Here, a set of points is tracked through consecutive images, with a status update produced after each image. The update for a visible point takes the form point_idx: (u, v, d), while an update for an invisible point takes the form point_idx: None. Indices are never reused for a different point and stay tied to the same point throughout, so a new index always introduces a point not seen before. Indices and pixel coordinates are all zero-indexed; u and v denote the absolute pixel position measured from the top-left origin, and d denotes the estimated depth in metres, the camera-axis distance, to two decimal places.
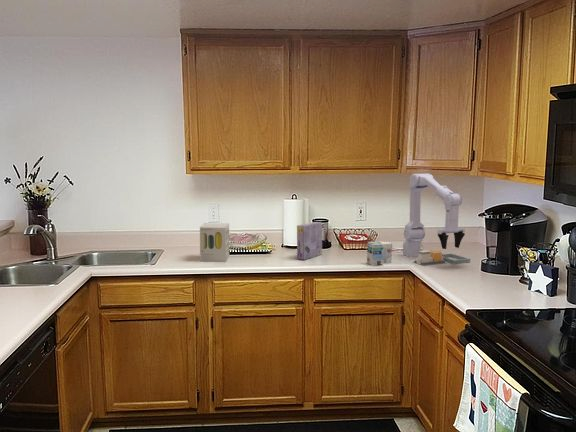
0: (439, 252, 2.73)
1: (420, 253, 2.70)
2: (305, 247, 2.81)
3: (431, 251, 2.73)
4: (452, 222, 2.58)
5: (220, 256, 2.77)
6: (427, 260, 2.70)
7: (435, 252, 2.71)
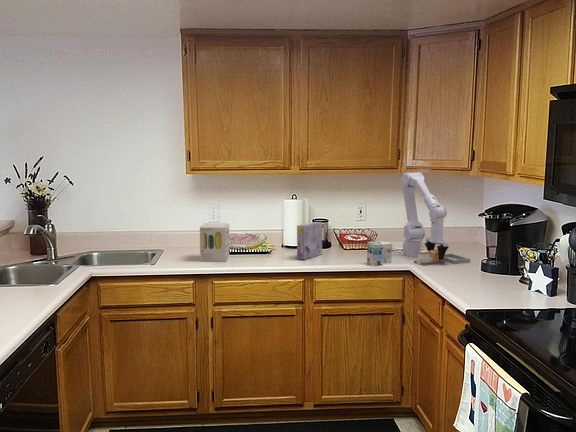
0: None
1: (420, 253, 2.70)
2: (305, 247, 2.81)
3: (431, 251, 2.73)
4: None
5: (220, 256, 2.77)
6: (427, 260, 2.70)
7: (435, 252, 2.71)
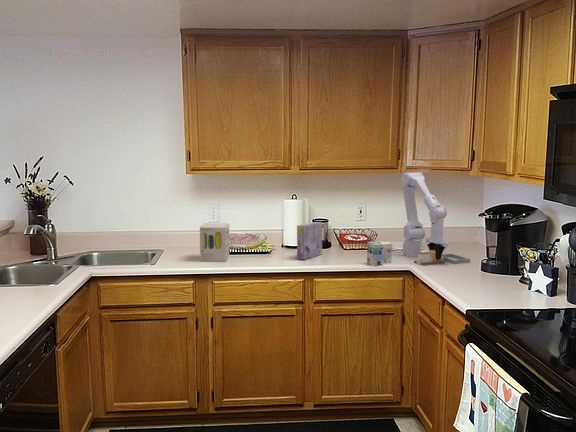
0: None
1: (420, 253, 2.70)
2: (305, 247, 2.81)
3: (431, 251, 2.73)
4: None
5: (220, 256, 2.77)
6: (427, 260, 2.70)
7: (435, 252, 2.71)
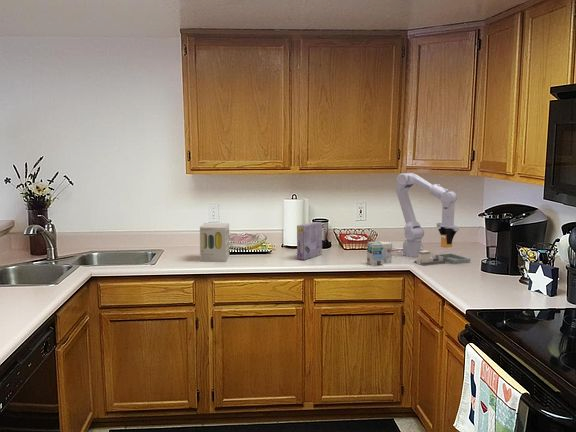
0: None
1: (420, 253, 2.70)
2: (305, 247, 2.81)
3: (442, 236, 2.75)
4: None
5: (220, 256, 2.77)
6: (427, 260, 2.70)
7: (446, 237, 2.73)
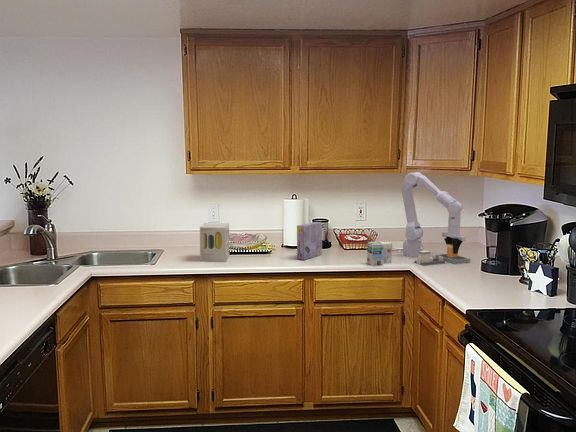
0: None
1: (420, 253, 2.70)
2: (305, 247, 2.81)
3: (448, 245, 2.77)
4: (448, 227, 2.77)
5: (220, 256, 2.77)
6: (427, 260, 2.70)
7: (452, 246, 2.75)
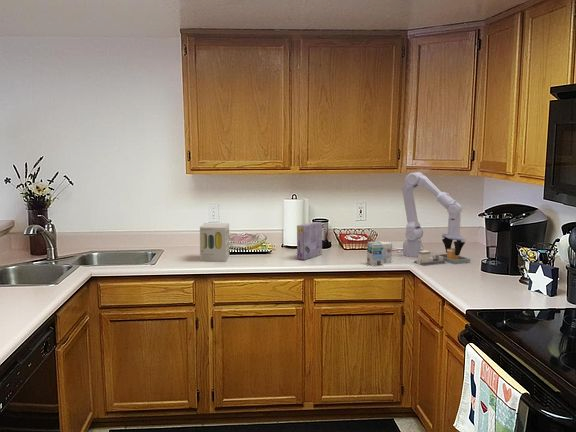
0: None
1: (420, 253, 2.70)
2: (305, 247, 2.81)
3: (448, 250, 2.77)
4: (448, 228, 2.77)
5: (220, 256, 2.77)
6: (427, 260, 2.70)
7: (452, 251, 2.76)
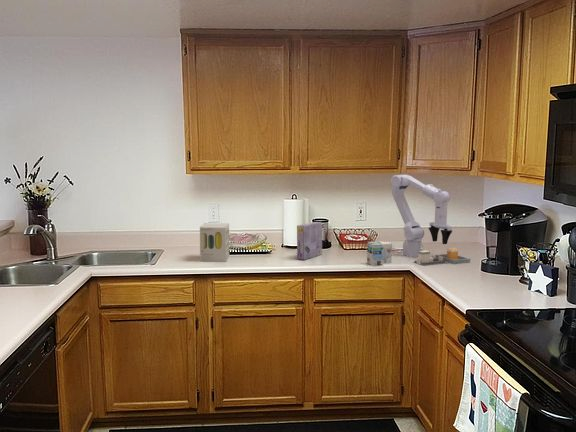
0: (456, 251, 2.77)
1: (420, 253, 2.70)
2: (305, 247, 2.81)
3: (448, 250, 2.77)
4: None
5: (220, 256, 2.77)
6: (427, 260, 2.70)
7: (452, 251, 2.76)
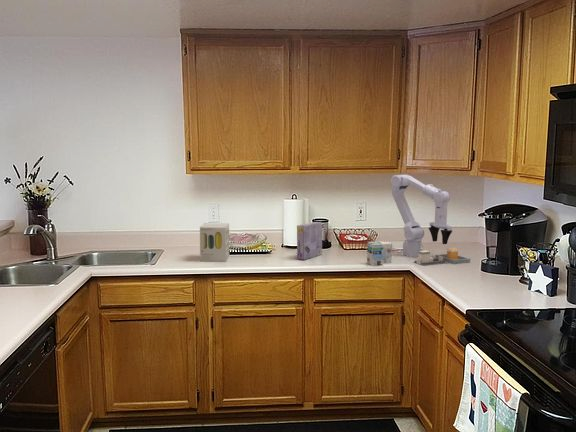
0: (456, 251, 2.77)
1: (420, 253, 2.70)
2: (305, 247, 2.81)
3: (448, 250, 2.77)
4: None
5: (220, 256, 2.77)
6: (427, 260, 2.70)
7: (452, 251, 2.76)
